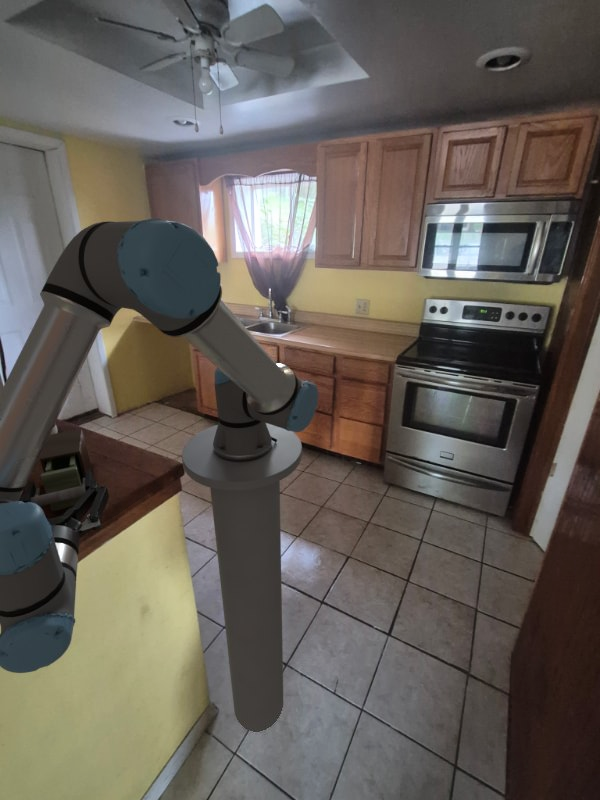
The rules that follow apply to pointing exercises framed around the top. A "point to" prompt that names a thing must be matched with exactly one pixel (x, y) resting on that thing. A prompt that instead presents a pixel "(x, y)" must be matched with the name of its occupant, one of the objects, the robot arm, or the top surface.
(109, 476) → the top surface
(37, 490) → the drawer
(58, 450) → the cabinet
